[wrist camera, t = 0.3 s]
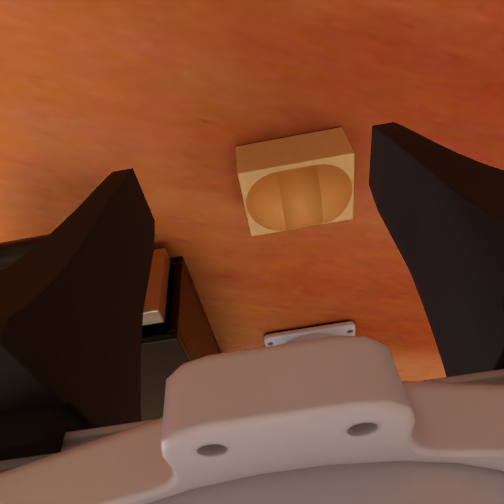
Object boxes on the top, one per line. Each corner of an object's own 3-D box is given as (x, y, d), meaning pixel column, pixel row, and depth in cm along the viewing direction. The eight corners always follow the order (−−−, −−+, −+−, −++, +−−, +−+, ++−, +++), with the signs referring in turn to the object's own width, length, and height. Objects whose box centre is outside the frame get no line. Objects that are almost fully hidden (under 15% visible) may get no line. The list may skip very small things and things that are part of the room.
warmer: (22, 283, 29) (-16, 369, 24) (182, 256, 28) (177, 338, 23) (100, 374, 38) (84, 450, 33) (222, 355, 37) (224, 429, 32)
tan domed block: (341, 191, 25) (359, 235, 22) (247, 207, 26) (252, 253, 23) (341, 126, 22) (362, 167, 19) (234, 146, 23) (238, 189, 20)
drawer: (-36, 217, 23) (-82, 284, 20) (139, 185, 23) (125, 248, 19) (92, 366, 35) (78, 425, 32) (209, 348, 35) (209, 406, 31)
